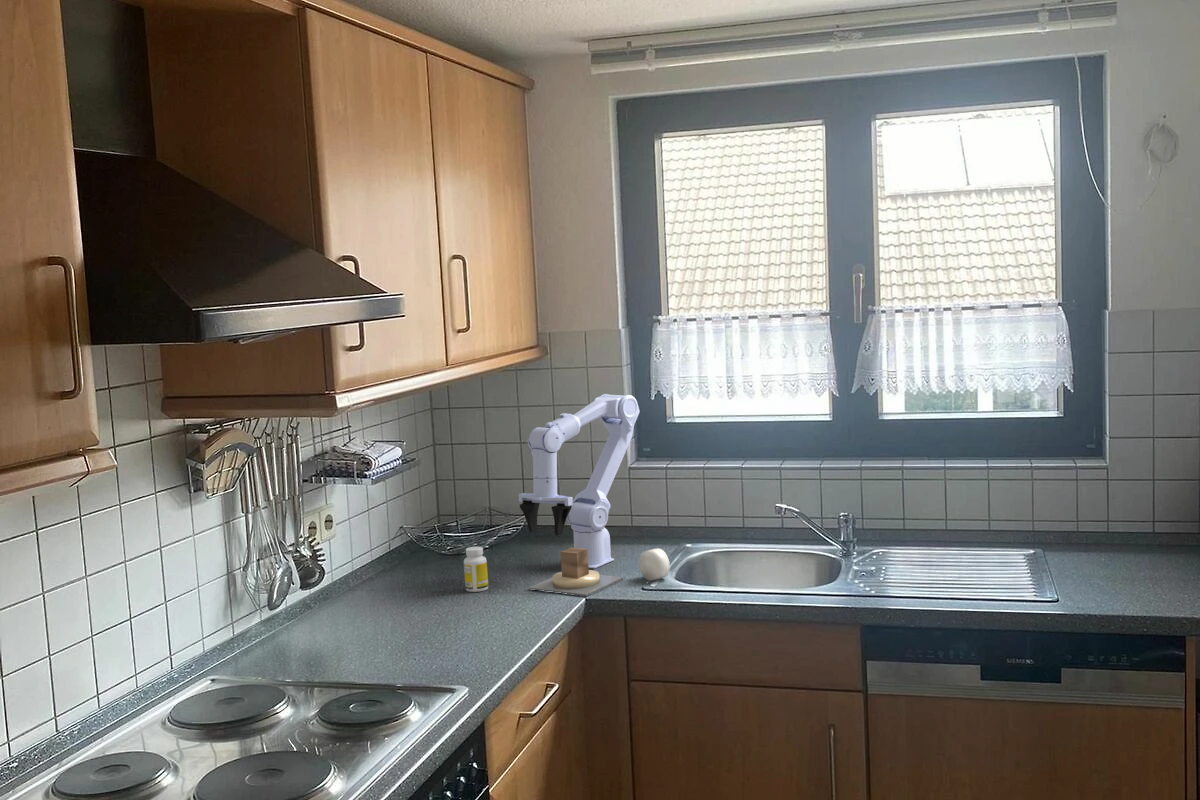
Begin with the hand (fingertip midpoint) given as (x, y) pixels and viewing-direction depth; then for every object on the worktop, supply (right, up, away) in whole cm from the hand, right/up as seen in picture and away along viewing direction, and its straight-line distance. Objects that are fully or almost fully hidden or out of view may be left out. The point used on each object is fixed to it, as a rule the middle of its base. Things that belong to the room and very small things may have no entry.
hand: (545, 533), depth 284 cm
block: (+7, -9, -9) cm, 15 cm away
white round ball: (+24, -7, -9) cm, 27 cm away
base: (+7, -11, -9) cm, 16 cm away
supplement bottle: (-16, -12, -8) cm, 22 cm away
